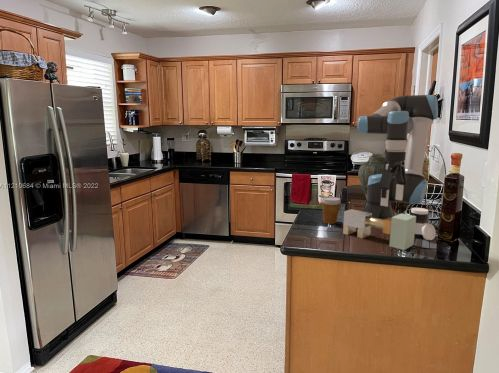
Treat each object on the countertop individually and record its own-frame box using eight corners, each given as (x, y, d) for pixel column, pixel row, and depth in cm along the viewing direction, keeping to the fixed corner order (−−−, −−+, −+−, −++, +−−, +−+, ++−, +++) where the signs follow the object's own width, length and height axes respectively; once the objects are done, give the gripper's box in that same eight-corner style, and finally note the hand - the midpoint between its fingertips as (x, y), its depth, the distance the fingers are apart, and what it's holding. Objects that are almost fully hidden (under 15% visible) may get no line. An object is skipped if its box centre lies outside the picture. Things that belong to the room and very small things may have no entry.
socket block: (398, 241, 151) (401, 213, 149) (413, 244, 147) (416, 216, 145) (389, 246, 145) (391, 217, 143) (404, 250, 141) (406, 220, 139)
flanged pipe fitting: (411, 230, 166) (413, 206, 164) (438, 235, 159) (441, 210, 157) (403, 237, 157) (405, 211, 155) (431, 242, 150) (434, 215, 148)
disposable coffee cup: (340, 220, 182) (341, 197, 180) (339, 225, 173) (340, 201, 171) (320, 218, 185) (321, 195, 183) (319, 223, 176) (320, 199, 174)
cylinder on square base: (359, 224, 161) (360, 211, 160) (404, 234, 147) (405, 220, 146) (354, 226, 158) (355, 213, 157) (399, 236, 144) (400, 223, 143)
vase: (390, 200, 230) (394, 152, 224) (399, 208, 208) (403, 156, 203) (354, 198, 233) (357, 152, 227) (359, 206, 211) (362, 155, 206)
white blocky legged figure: (350, 230, 166) (351, 209, 164) (370, 235, 159) (372, 213, 157) (342, 233, 161) (343, 211, 159) (363, 238, 154) (364, 216, 152)
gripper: (399, 147, 154) (395, 196, 159) (371, 152, 137) (368, 206, 141) (417, 149, 149) (413, 199, 153) (390, 153, 132) (386, 210, 136)
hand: (391, 202), depth 147 cm, fingers open, 13 cm apart
